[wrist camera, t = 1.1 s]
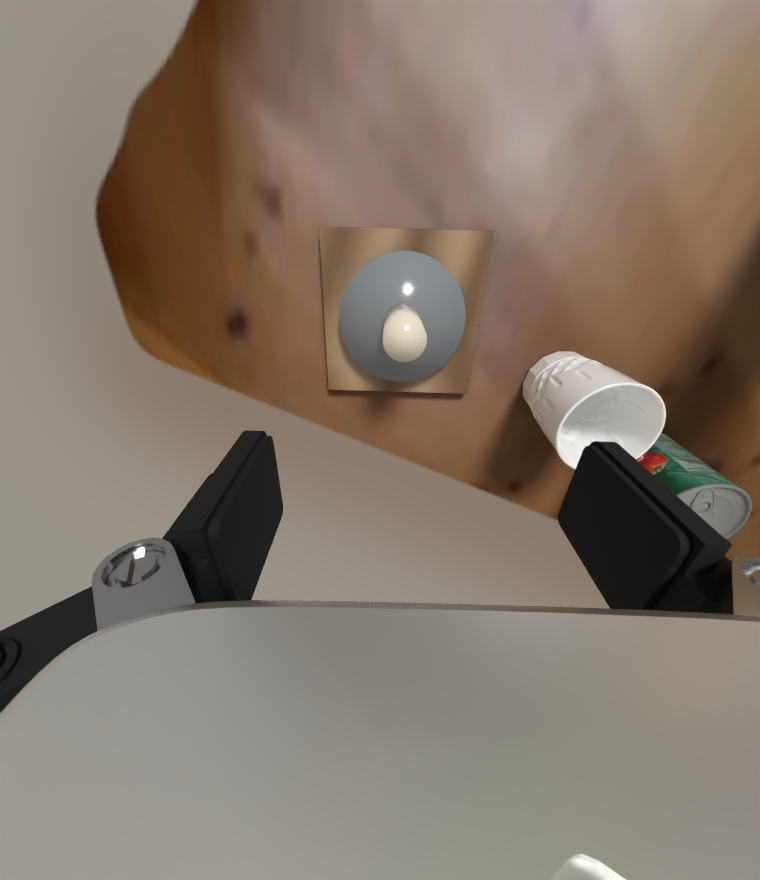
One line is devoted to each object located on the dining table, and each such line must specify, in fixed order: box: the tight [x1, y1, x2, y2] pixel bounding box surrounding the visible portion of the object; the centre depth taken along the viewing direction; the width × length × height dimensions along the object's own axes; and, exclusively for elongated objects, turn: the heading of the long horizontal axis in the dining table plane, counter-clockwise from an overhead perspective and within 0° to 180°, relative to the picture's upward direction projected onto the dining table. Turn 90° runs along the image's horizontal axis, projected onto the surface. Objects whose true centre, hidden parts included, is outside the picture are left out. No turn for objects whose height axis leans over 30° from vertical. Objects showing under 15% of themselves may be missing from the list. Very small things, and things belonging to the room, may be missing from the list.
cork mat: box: [319, 227, 494, 394], centre depth 32 cm, size 14×14×1 cm
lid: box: [339, 250, 466, 382], centre depth 28 cm, size 11×11×7 cm
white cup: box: [523, 351, 666, 469], centre depth 31 cm, size 8×8×10 cm
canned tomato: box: [636, 432, 752, 539], centre depth 34 cm, size 8×8×11 cm
